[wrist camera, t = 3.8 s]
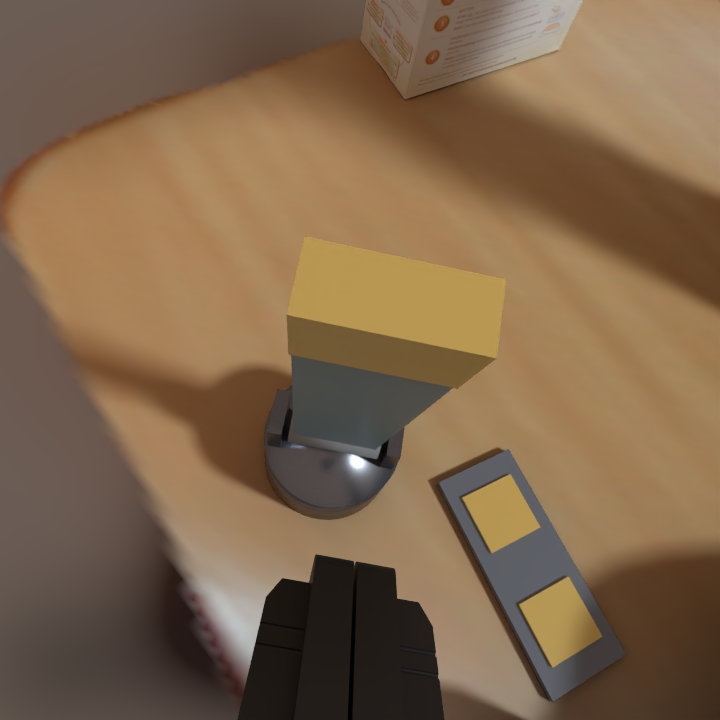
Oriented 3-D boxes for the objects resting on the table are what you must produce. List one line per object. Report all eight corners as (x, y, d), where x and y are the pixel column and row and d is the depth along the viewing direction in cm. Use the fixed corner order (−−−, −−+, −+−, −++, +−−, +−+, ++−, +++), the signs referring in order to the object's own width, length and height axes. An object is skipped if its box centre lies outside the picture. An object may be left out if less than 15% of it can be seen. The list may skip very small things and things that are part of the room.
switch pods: (243, 431, 31) (238, 393, 26) (351, 379, 33) (365, 334, 28) (511, 947, 23) (576, 1032, 19) (627, 838, 26) (714, 889, 21)
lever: (373, 461, 27) (503, 373, 10) (287, 444, 27) (274, 326, 10) (380, 418, 28) (516, 268, 11) (297, 401, 27) (298, 222, 11)
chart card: (436, 484, 31) (439, 481, 30) (505, 451, 32) (509, 448, 32) (549, 700, 27) (554, 702, 27) (622, 654, 29) (628, 654, 28)
